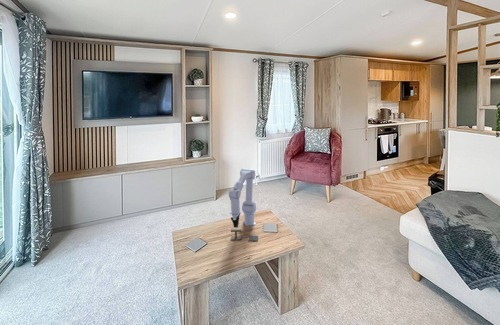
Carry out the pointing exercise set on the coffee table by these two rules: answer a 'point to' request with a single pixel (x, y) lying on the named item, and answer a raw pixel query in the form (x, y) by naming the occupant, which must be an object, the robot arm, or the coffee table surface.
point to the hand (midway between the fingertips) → (236, 224)
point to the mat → (253, 238)
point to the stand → (236, 237)
